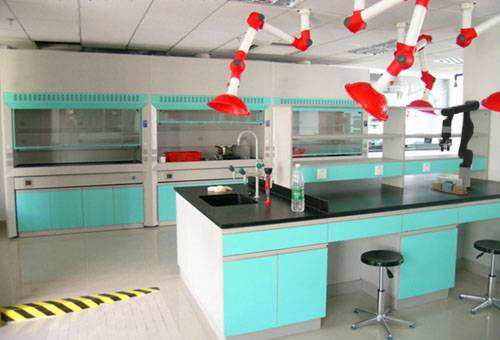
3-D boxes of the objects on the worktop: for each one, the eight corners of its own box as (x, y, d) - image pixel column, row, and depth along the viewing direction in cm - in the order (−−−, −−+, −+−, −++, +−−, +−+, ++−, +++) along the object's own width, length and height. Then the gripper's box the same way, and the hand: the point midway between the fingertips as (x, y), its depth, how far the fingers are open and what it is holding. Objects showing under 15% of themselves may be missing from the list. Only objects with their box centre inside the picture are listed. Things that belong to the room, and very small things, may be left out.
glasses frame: (438, 182, 359) (439, 176, 358) (461, 185, 342) (462, 179, 341) (436, 182, 357) (437, 176, 356) (459, 186, 340) (460, 179, 340)
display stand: (436, 188, 364) (437, 178, 362) (467, 193, 341) (468, 182, 340) (430, 189, 359) (431, 178, 358) (461, 194, 337) (462, 183, 336)
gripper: (447, 131, 362) (445, 150, 364) (437, 131, 354) (436, 151, 356) (455, 131, 355) (454, 151, 358) (445, 132, 348) (444, 152, 350)
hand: (445, 151), depth 357 cm, fingers open, 8 cm apart
